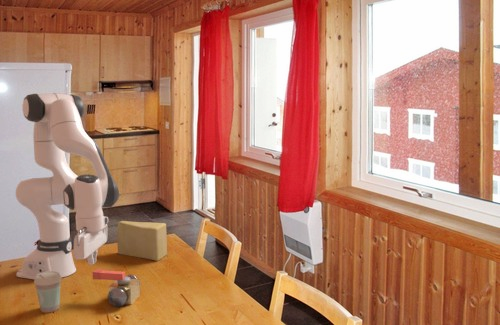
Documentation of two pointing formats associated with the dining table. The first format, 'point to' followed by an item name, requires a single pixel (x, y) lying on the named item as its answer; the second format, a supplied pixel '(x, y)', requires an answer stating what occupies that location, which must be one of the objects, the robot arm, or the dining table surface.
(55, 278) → the coffee cup
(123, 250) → the cheese
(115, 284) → the valve
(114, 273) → the lever
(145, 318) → the dining table surface
